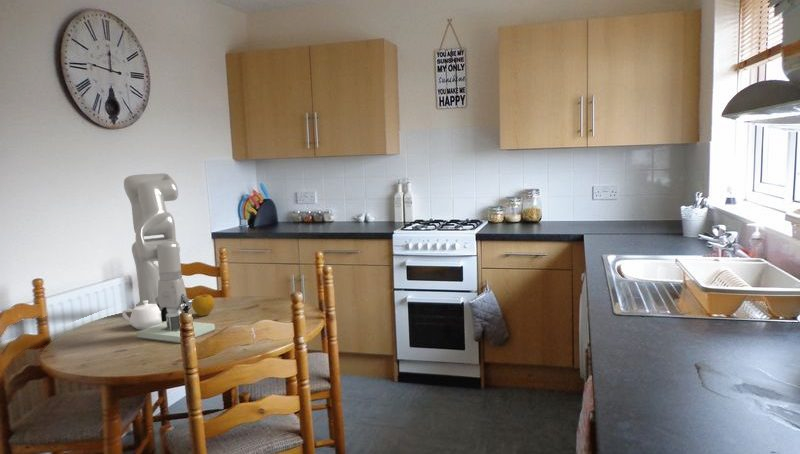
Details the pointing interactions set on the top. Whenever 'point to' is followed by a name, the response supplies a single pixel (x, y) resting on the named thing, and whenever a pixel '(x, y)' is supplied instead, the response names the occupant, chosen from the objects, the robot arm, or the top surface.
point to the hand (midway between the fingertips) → (175, 321)
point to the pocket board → (172, 332)
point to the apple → (203, 304)
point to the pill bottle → (173, 319)
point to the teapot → (144, 316)
